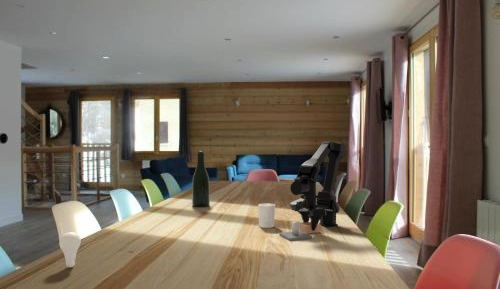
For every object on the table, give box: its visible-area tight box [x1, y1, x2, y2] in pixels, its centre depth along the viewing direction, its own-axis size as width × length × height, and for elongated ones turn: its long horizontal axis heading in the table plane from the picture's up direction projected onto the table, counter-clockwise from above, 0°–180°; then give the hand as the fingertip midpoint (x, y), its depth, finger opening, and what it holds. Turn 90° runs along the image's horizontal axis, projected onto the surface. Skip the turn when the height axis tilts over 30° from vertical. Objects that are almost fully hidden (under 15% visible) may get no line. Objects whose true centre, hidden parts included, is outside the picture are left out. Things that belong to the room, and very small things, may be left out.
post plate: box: [278, 221, 313, 242], centre depth 162 cm, size 10×10×6 cm
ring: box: [299, 221, 321, 234], centre depth 172 cm, size 6×6×3 cm
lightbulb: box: [58, 231, 82, 269], centre depth 125 cm, size 6×6×11 cm
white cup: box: [257, 202, 276, 229], centre depth 182 cm, size 8×8×10 cm
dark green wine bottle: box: [191, 150, 211, 208], centre depth 240 cm, size 10×10×33 cm
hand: (309, 228), depth 172 cm, fingers closed on ring, 6 cm apart
